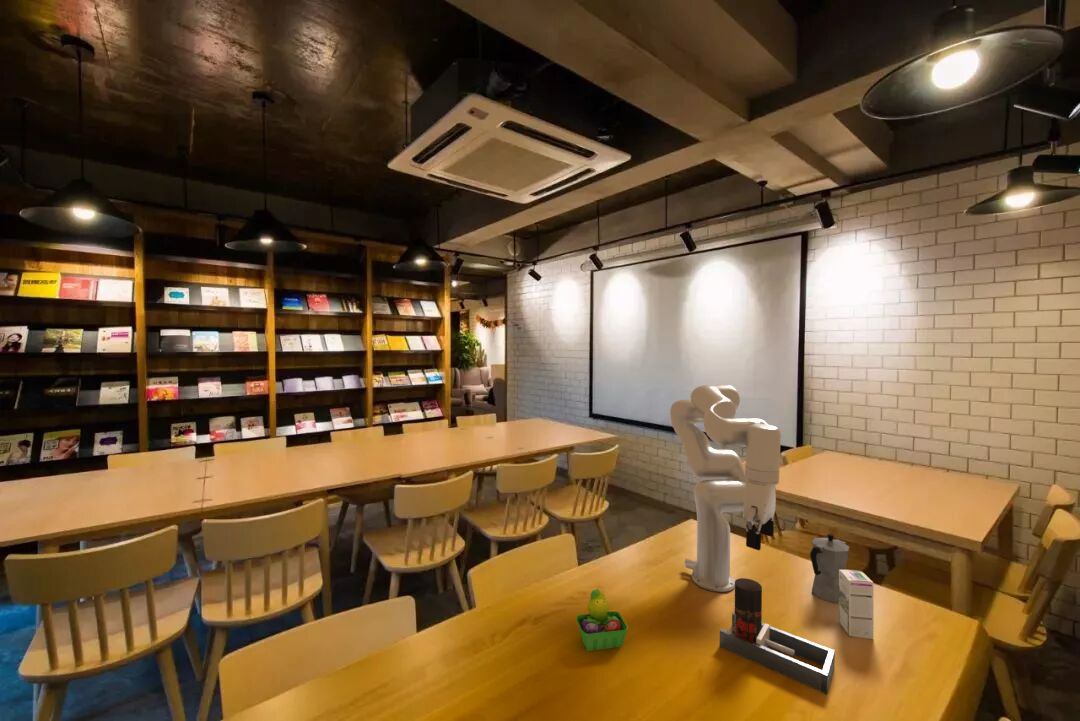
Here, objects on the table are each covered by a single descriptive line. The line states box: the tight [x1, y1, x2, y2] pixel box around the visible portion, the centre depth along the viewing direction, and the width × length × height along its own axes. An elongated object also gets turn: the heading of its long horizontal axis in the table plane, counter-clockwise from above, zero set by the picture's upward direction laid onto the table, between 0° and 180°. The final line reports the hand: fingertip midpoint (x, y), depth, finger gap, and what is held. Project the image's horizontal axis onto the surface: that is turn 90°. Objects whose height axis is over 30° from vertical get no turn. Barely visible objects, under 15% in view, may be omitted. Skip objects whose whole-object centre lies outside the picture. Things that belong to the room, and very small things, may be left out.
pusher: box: [756, 622, 795, 657], centre depth 102 cm, size 7×7×4 cm
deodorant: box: [734, 577, 763, 643], centre depth 106 cm, size 6×6×15 cm
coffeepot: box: [809, 533, 850, 604], centre depth 127 cm, size 15×9×18 cm, turn 116°
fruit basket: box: [575, 589, 629, 652], centre depth 108 cm, size 11×9×11 cm
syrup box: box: [838, 569, 875, 640], centre depth 111 cm, size 6×6×14 cm
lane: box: [719, 611, 836, 695], centre depth 102 cm, size 22×10×4 cm, turn 49°
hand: (759, 541), depth 110 cm, fingers open, 9 cm apart
